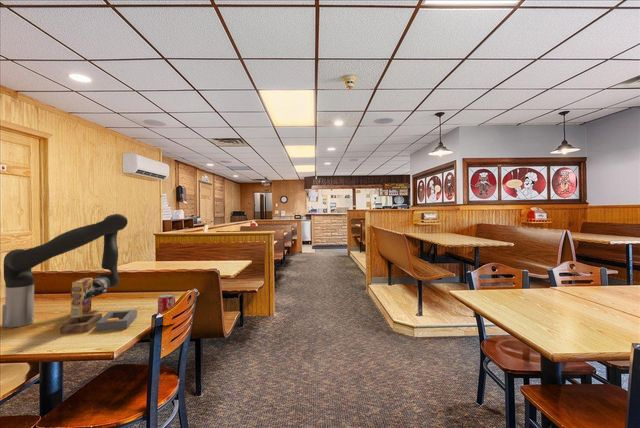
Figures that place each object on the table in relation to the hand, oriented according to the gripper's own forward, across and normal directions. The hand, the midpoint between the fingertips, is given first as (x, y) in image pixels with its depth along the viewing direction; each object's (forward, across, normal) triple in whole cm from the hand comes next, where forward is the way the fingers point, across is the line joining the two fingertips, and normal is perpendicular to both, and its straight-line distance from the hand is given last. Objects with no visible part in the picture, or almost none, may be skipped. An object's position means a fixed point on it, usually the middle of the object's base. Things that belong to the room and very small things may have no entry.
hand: (80, 296), depth 133 cm
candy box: (-2, 0, +9) cm, 9 cm away
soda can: (+5, +35, +14) cm, 38 cm away
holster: (-2, 0, +14) cm, 14 cm away
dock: (-2, +14, +14) cm, 20 cm away
